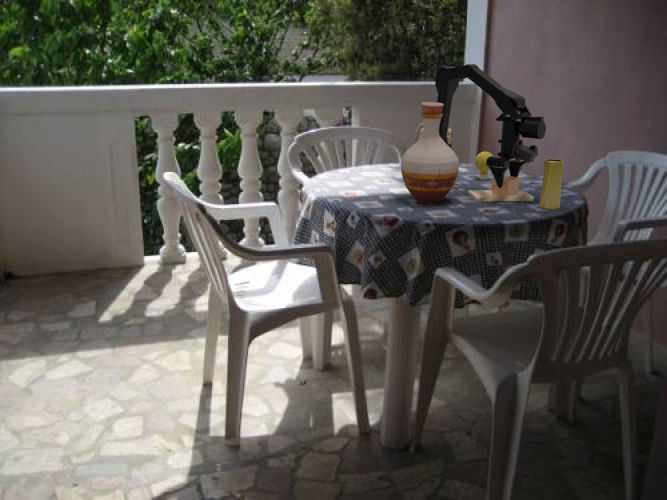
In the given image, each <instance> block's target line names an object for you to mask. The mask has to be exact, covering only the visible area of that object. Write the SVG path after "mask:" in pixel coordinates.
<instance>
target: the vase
mask: <svg viewBox="0 0 667 500" xmlns="http://www.w3.org/2000/svg"><path fill="white" fill-rule="evenodd" d="M563 165H564V160H563V159H560V158H545V159H544V163H543V174H542V183H541V189H540V190H541V191H540V196H539V197H540V198H539V204H538V206H539V208H541V209H545V210H559V209H560V208H561V196H562V195H561V194H562V193H561V192H562V182H563V181H562V179H563V167H564V166H563Z"/></svg>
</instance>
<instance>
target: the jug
mask: <svg viewBox="0 0 667 500" xmlns="http://www.w3.org/2000/svg"><path fill="white" fill-rule="evenodd" d="M443 106H444V104H442V103H437V101H436V102H434V101H424V102H422V103H421V109H422V112H421V115H420V116H421V118H422V121H423V122H421V123H420V124H419V125H417V127H416V130H415V132H414V135H413V145H411V147H409V148H408V149H407V150H406V151H405V152H404V154H403V156H402V157H401V162H400V170H401V176H402V180H403V183H404V186H405V188H406V190H407V191H408V193H409V194H410V195H411V196H412V197H413V199H414V200H415V201H416V202H417V203H422V204H423V203H424V204H438V203H441V202H442V201H443V200H444V199H445V198H446V197H447V195H448V194H449V193H450V192H451V190H452V189H453V188H454V185H455V183H456V181H457V178H458V174H459V169H460V162H459V158H458V156H457V154H456V153H455V151H454V150H453V148H452V149H451V148H450V147H449V146H448V145H447V144H446V143H445V142H444V141H443V140H442V138H441V137H440V136H439V125H440V120H441V118H442V116H443V113H441V112H442V109H443ZM422 128H424V134H423V136H422V137H421V138H420V139H419V134H420V131H421V129H422Z"/></svg>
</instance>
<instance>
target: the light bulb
mask: <svg viewBox="0 0 667 500" xmlns="http://www.w3.org/2000/svg"><path fill="white" fill-rule="evenodd" d="M490 156H494V155H493V154H492V153H491V152H490V151H481V152H479V153H478V154H477V155H476V156H475V159H474V160H475V161H474V163H475V165H476V167H477V169H478V171H479V175H478V176H479V179H480V180H481V181H487V180H488V177H489V171H491V170H490V168H488V166H487V165H486V160H487V158H488V157H490Z"/></svg>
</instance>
